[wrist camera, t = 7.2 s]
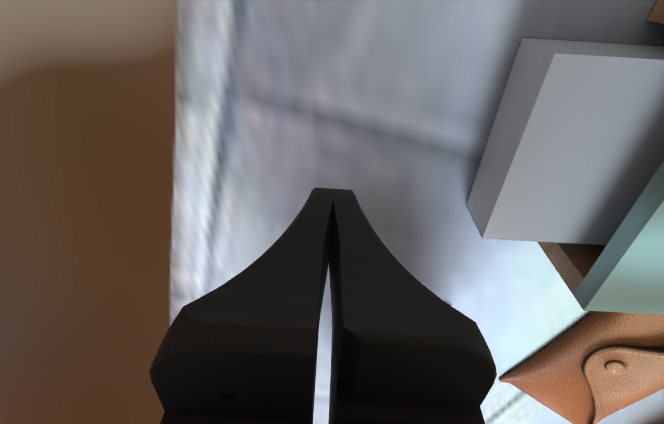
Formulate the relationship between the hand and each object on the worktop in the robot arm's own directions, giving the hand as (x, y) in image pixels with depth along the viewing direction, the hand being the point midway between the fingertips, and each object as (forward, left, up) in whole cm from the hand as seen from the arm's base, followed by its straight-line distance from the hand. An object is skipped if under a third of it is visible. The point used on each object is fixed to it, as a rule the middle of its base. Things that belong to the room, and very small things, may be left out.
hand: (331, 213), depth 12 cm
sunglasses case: (-16, -22, -8) cm, 29 cm away
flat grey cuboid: (0, -15, -8) cm, 17 cm away
